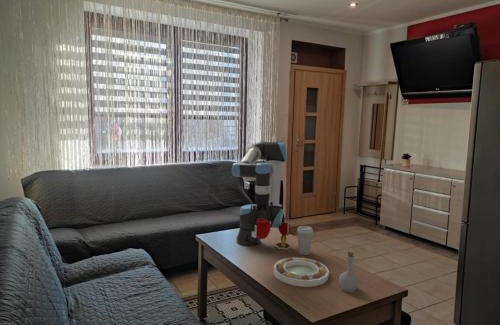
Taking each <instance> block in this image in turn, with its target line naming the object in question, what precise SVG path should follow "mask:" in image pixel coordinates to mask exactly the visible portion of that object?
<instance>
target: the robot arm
mask: <svg viewBox="0 0 500 325" xmlns="http://www.w3.org/2000/svg"><path fill="white" fill-rule="evenodd" d="M245 153H246V154H245V155H243V158H242V159H241V160H240V161H239V162H233V164H232V166H231V174H232V176H233V177H237V178H253V179H255V183H254V184H255V186H254V192H255V193H254V200H255V203H254V204H252V203H251V204H246V205H242V206H241V207H240V209H239V230H238V232H237V233H238V234H237V236H236V243H237V244H239V245H242V246H248V247H249V246H257V245H259V244H260V243H261V240H262V239H258V238H257V237H256V232H257V225H256V222H257V219H258V218H262V219H267V220H268V221H269V222H270V224H271V228H270V232H269V234H271V229H279V226H280V225H281V224H282V223H283V222H282V221H283V216H284V209H283V208H282V205H281V204H280V196H281V195H280V194H281V179H282V166H284V165H285V162H287V161H288V155H287V154H288V152H287V146H286V143H284V142H279V141H276V142H275V141H270V142H269V141H259V142H256V143H253V144H252V145H250V146H249V147H248V148H247V149H246V152H245ZM259 160H260V161H261V160H263V161H265V162H257V161H259ZM253 222H254V223H253ZM269 234H268V235H269Z"/></svg>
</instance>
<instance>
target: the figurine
mask: <svg viewBox="0 0 500 325" xmlns="http://www.w3.org/2000/svg"><path fill="white" fill-rule="evenodd" d="M278 231H279V233H280V234H281V235H280V241H281V242H278V243H276V244H275V245H274V247H276V248H277V249H279V250H289V249H291V248H292V246H291V245H290V244H288V243H287V236H289V235H290V234H291V224H290V223H288V222H281V225H280V226H279V228H278Z"/></svg>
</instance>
